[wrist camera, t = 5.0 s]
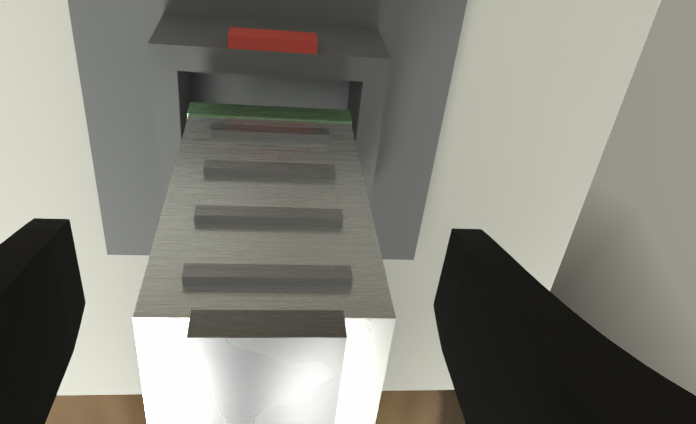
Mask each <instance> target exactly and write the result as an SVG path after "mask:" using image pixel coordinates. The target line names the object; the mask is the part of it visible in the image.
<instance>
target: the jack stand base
mask: <svg viewBox="0 0 696 424" xmlns="http://www.w3.org/2000/svg"><path fill="white" fill-rule="evenodd" d="M660 2H661V0H0V244H1V243H2V242H4V241H5V240H6V239H7V238H9V237H10V236H11V235H12V234H14V233H15V232H16V231H18V230H19V229H20V228H22V227H23V226H24V225H25V224H27V223H28V222H30V221H31V220H32V219H34V218H43V219H70V224H71V229H72V235H73V240H74V245H75V250H76V255H77V260H78V266H79V271H80V276H81V281H82V286H83V292H84V297H85V302H86V304H85V308H84V312H83V316H82V321H81V325H80V329H79V333H78V337H77V341H76V344H75V348H74V352H73V354H72V357H71V359H70V362H69V365H68V367H67V370H66V372H65V375H64V377H63V380H62V382H61V385H60V387H59V390H58V392H57V395H113V394H143V391H142V384H141V376H140V369H139V362H138V355H137V347H136V340H135V333H134V325H133V314H134V310H135V307H136V303H137V300H138V296H139V292H140V289H141V285H142V281H143V278H144V274H145V271H146V267H147V263H148V260H149V256H150V252H151V249H152V245H153V242H154V238H155V234H156V231H157V227H158V224H159V220H160V216H161V213H162V209H163V205H164V202H165V198H166V195H167V191H168V187H169V184H170V180H171V176H172V173H173V169H174V166H175V162H176V158H177V155H178V151H179V148H180V144H181V140H182V137H183V133H184V129H185V126H186V122H187V112H188V108H189V105H190V102H201V103H220V104H240V105H259V106H279V107H298V108H318V109H337V110H350V114H351V118H352V130H353V134H354V139H355V143H356V147H357V152H358V156H359V160H360V164H361V169H362V173H363V177H364V182H365V186H366V190H367V195H368V199H369V203H370V208H371V212H372V216H373V221H374V225H375V229H376V234H377V238H378V242H379V247H380V251H381V255H382V259H383V264H384V268H385V272H386V277H387V281H388V285H389V290H390V294H391V298H392V303H393V307H394V311H395V316H396V322H395V327H394V332H393V337H392V342H391V347H390V352H389V357H388V362H387V367H386V372H385V377H384V382H383V387H382V391H398V390H455V389H454V386H453V383H452V380H451V377H450V374H449V371H448V368H447V365H446V362H445V359H444V356H443V352H442V349H441V344H440V339H439V334H438V329H437V324H436V318H435V312H434V306H433V304H434V300H435V296H436V292H437V288H438V283H439V279H440V275H441V271H442V267H443V263H444V259H445V255H446V251H447V246H448V242H449V238H450V234H451V230H452V228H454V229H482V230H483V231H484V232H485V233H487V234H488V235H489V236H490V237H491V238H492V239H493V240H494V241H496V242H497V243H498V244H499V245H500V246H501V247H502V248H503V249H504V250H505V251H506V252H507V253H508V254H509V255H511V256H512V257H513V258H514V259H515V260H516V261H517V262H518V263H519V264H520V265H521V266H522V267H523V268H524V269H525V270H527V271H528V272H529V273H530V274H531V275H532V276H533V277H534V278H535V279H536V280H537V281H539V282H540V283H541V284H542V285H543V286H544V287H545V288H546V289H548V290H549V291H550V290H551V287H552V284H553V282H554V279H555V277H556V274H557V271H558V269H559V266H560V263H561V261H562V258H563V256H564V253H565V251H566V248H567V245H568V243H569V240H570V237H571V235H572V232H573V229H574V227H575V224H576V222H577V219H578V217H579V214H580V211H581V209H582V206H583V203H584V201H585V198H586V196H587V193H588V190H589V188H590V185H591V182H592V180H593V177H594V175H595V172H596V170H597V167H598V164H599V162H600V159H601V156H602V154H603V151H604V149H605V146H606V143H607V141H608V138H609V136H610V133H611V130H612V128H613V125H614V122H615V120H616V117H617V115H618V112H619V109H620V107H621V104H622V102H623V99H624V96H625V94H626V91H627V89H628V86H629V83H630V81H631V78H632V75H633V73H634V70H635V67H636V65H637V62H638V60H639V57H640V55H641V52H642V49H643V47H644V44H645V41H646V38H647V36H648V34H649V31H650V28H651V26H652V23H653V20H654V18H655V15H656V13H657V10H658V7H659V5H660Z"/></svg>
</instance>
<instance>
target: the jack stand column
mask: <svg viewBox="0 0 696 424" xmlns="http://www.w3.org/2000/svg"><path fill="white" fill-rule="evenodd" d="M395 322H396V316H395V311H394V307H393V303H392V298H391V294H390V290H389V285H388V281H387V277H386V272H385V268H384V264H383V259H382V255H381V251H380V247H379V242H378V238H377V234H376V229H375V225H374V221H373V216H372V212H371V208H370V203H369V199H368V195H367V190H366V186H365V182H364V177H363V173H362V169H361V164H360V160H359V156H358V152H357V147H356V143H355V139H354V134H353V130H352V118H351V114H350V110H337V109H318V108H298V107H279V106H259V105H240V104H220V103H201V102H190V105H189V108H188V112H187V122H186V126H185V129H184V133H183V137H182V140H181V144H180V148H179V151H178V155H177V158H176V162H175V166H174V169H173V173H172V176H171V180H170V184H169V187H168V191H167V195H166V198H165V202H164V205H163V209H162V213H161V216H160V220H159V224H158V227H157V231H156V234H155V238H154V242H153V245H152V249H151V252H150V256H149V260H148V263H147V267H146V271H145V274H144V278H143V281H142V285H141V289H140V292H139V296H138V300H137V303H136V307H135V310H134V314H133V325H134V333H135V340H136V347H137V355H138V362H139V369H140V376H141V384H142V391H143V398H144V406H145V413H146V420H147V424H375V422H376V417H377V412H378V407H379V402H380V397H381V392H382V387H383V382H384V377H385V372H386V367H387V362H388V357H389V352H390V347H391V342H392V337H393V332H394V327H395Z"/></svg>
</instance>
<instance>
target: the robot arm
mask: <svg viewBox="0 0 696 424" xmlns="http://www.w3.org/2000/svg"><path fill="white" fill-rule="evenodd" d="M85 304H86V302H85V297H84V292H83V286H82V281H81V276H80V271H79V266H78V260H77V255H76V250H75V245H74V240H73V235H72V229H71V224H70V219H43V218H34V219H32V220H31V221H30V222H28V223H27V224H25V225H24V226H23V227H22V228H20V229H19V230H18V231H16V232H15V233H14V234H12V235H11V236H10V237H9V238H7V239H6V240H5V241H4V242H2V243H1V244H0V424H45V422H46V419H47V417H48V414H49V412H50V409H51V407H52V405H53V402H54V400H55V397H56V395H57V392H58V390H59V387H60V385H61V382H62V380H63V377H64V375H65V372H66V370H67V367H68V365H69V362H70V359H71V357H72V354H73V352H74V348H75V344H76V341H77V337H78V333H79V329H80V325H81V321H82V316H83V312H84V308H85ZM433 306H434V312H435V318H436V324H437V329H438V334H439V339H440V344H441V349H442V352H443V356H444V359H445V362H446V365H447V368H448V371H449V374H450V377H451V380H452V383H453V386H454V389H455V392H456V395H457V398H458V401H459V404H460V407H461V410H462V413H463V416H464V419H465V422H466V424H696V396H695V395H693V394H692V393H690V392H688V391H687V390H685V389H683V388H681V387H680V386H678V385H676V384H675V383H673V382H672V381H670V380H668V379H666V378H665V377H663V376H662V375H660V374H659V373H657V372H656V371H654V370H652V369H651V368H649V367H647V366H646V365H645V364H643V363H642V362H640V361H639V360H637V359H636V358H635V357H633V356H632V355H630V354H629V353H627V352H626V351H624V350H623V349H622V348H620V347H619V346H617V345H616V344H614V343H613V342H612V341H610V340H609V339H608V338H606V337H605V336H603V335H602V334H601V333H600V332H598V331H597V330H596V329H594V328H593V327H592V326H591V325H589V324H588V323H587V322H586V321H584V320H583V319H582V318H581V317H579V316H578V315H577V314H576V313H574V312H573V311H572V310H571V309H570V308H568V307H567V306H566V305H565V304H564V303H562V302H561V301H560V300H559V299H558V298H557V297H555V296H554V295H553V294H552V293H551V292H550V291H549V290H548V289H546V288H545V287H544V286H543V285H542V284H541V283H540V282H539V281H537V280H536V279H535V278H534V277H533V276H532V275H531V274H530V273H529V272H528V271H527V270H525V269H524V268H523V267H522V266H521V265H520V264H519V263H518V262H517V261H516V260H515V259H514V258H513V257H512V256H511V255H509V254H508V253H507V252H506V251H505V250H504V249H503V248H502V247H501V246H500V245H499V244H498V243H497V242H496V241H494V240H493V239H492V238H491V237H490V236H489V235H488V234H487V233H485V232H484V231H483V230H482V229H454V228H452V230H451V234H450V238H449V242H448V246H447V251H446V255H445V259H444V263H443V267H442V271H441V275H440V279H439V283H438V288H437V292H436V296H435V300H434V304H433Z"/></svg>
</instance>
